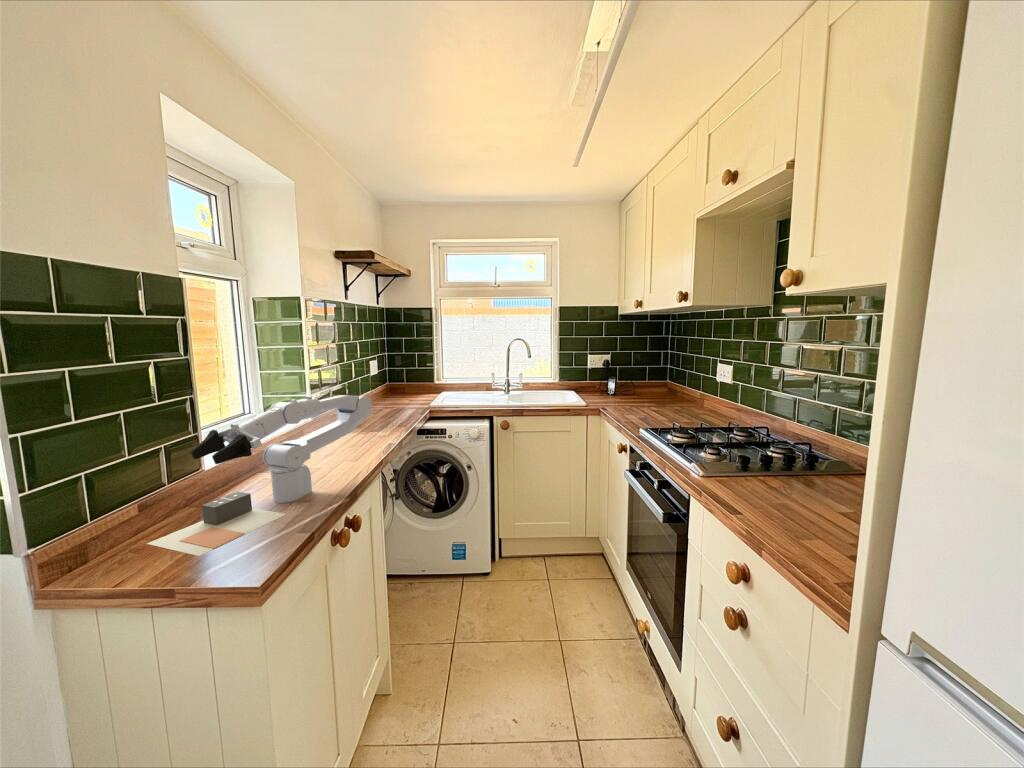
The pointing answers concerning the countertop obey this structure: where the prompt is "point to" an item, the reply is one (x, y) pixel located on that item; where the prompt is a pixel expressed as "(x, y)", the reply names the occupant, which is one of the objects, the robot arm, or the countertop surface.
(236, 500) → the domino block
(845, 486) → the countertop surface
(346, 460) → the countertop surface
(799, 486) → the countertop surface
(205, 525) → the cream mat
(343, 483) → the countertop surface
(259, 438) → the robot arm
